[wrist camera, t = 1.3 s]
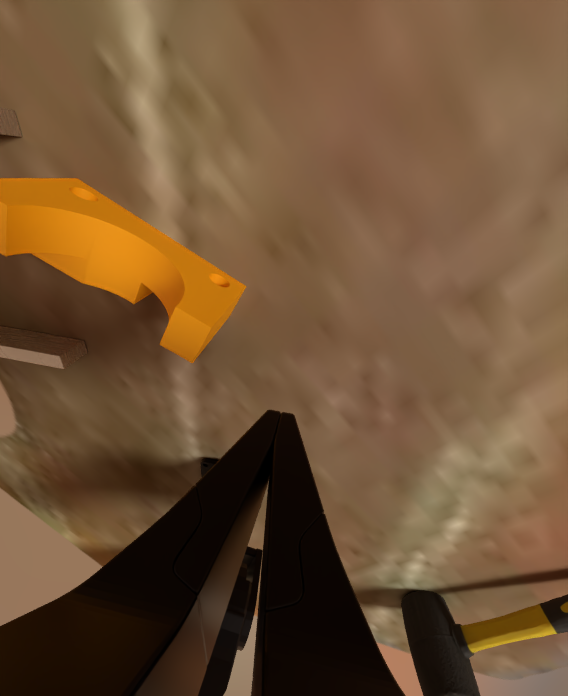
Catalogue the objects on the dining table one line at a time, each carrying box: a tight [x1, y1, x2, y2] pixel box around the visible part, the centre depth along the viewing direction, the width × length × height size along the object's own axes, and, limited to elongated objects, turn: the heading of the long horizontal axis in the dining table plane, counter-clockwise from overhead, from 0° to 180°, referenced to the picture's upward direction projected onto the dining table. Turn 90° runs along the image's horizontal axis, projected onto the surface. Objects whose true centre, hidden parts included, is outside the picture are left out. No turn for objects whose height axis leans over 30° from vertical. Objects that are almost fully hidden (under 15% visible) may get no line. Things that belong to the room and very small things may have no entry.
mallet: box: [401, 591, 568, 696], centre depth 28 cm, size 29×6×10 cm, turn 133°
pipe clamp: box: [0, 178, 246, 363], centre depth 17 cm, size 12×4×6 cm, turn 58°
